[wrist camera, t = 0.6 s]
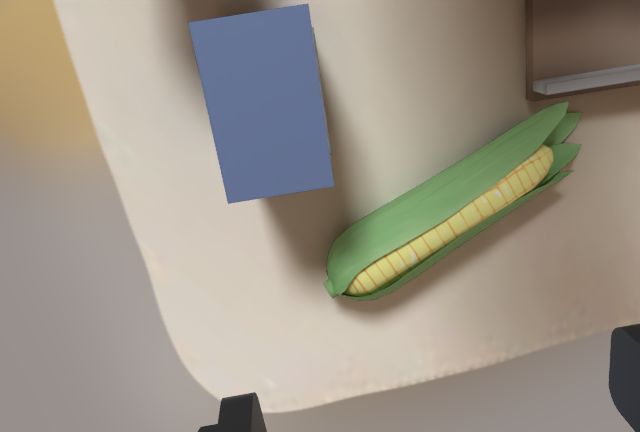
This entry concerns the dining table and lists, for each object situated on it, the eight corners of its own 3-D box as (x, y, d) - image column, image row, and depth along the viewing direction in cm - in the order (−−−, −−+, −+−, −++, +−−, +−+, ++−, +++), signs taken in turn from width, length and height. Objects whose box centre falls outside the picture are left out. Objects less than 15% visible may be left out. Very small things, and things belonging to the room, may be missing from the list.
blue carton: (241, 152, 34) (228, 203, 25) (214, 20, 31) (188, 22, 22) (322, 139, 34) (338, 185, 25) (302, 6, 32) (312, 3, 22)
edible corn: (304, 245, 37) (308, 274, 33) (562, 77, 34) (602, 86, 30) (345, 298, 39) (353, 333, 35) (594, 142, 36) (636, 159, 32)
